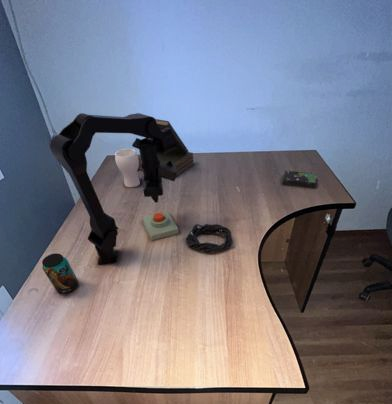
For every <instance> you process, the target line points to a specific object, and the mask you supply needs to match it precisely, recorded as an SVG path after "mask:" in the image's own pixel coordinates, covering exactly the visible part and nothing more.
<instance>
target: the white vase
mask: <svg viewBox="0 0 392 404" xmlns="http://www.w3.org/2000/svg"><path fill="white" fill-rule="evenodd" d="M114 157H115V158H114V160H115V164H116V167H117V168H118V170H119V171H120V173H121V175H122V177H123V183H124V187H126V188H137V187H138V186H140V184H141V181H140V179H139V176H138V170H139V159H138V157H139V156H138V153H137V151H136V149H133V148H122V149H119V150H117V151H116V152H115V153H114Z"/></svg>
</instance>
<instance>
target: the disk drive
mask: <svg viewBox="0 0 392 404" xmlns="http://www.w3.org/2000/svg"><path fill="white" fill-rule="evenodd" d="M281 184H282V185H284V186H294V187H302V188H315V187H316V184H317V174H316V173H313V172H303V171H294V170H285V171H284V175H283V179H282V183H281Z"/></svg>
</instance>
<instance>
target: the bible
mask: <svg viewBox="0 0 392 404" xmlns="http://www.w3.org/2000/svg"><path fill="white" fill-rule="evenodd" d="M155 120H156V122H157V126H158V127H159V128H160V130H163V129H165V128H171V129H172V133H173V134H174V136H175V138H176V140H177V147H176V149H174V150H172V151H169V152H167V153H164V154H159V153H158V158H159V160H160V163H161V164H164V163H166V162H167V161H168V160H170V161H172V164H173V166H175V167H176V169H177V174H176V177H177V176H179V175H180V174H182V173H184V172H185V171H186V170H188V169H189V168H191V167H192V166H194V152H191V151H189V149H188V148H187V145H185V143H184V142H183V140H182V139H181V138H180V136H179V135H178V133H177V132H176V130H175V128H174V127H173V126H172V124H171V122H170V121H169V120H163V119H158V118H155ZM138 159H139V167H138V170H139V171H142V172H143V169H142V166H141V164H142V163H141V157H140V155H139V156H138Z"/></svg>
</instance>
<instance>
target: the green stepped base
mask: <svg viewBox="0 0 392 404" xmlns="http://www.w3.org/2000/svg"><path fill="white" fill-rule="evenodd" d="M160 213H162V214H163V215H164V220H163V221H162V222H155V221H154V217H153V216H154V214H155V213H152V214H148V215H145V216H141V219H142V220H141V221H142V223H143V225H144V227H145V229H146V231H147V234H148V236H149V238H150V240H151V241H155V240H159V239H162V238H167V237H170V236H173V235H178V234H180V230H179V227H178V226H177V224H176V222H175V221H174V219H173V217H172V216H171V214H170V212H169V211H168V210H165V211H161V212H160Z"/></svg>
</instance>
